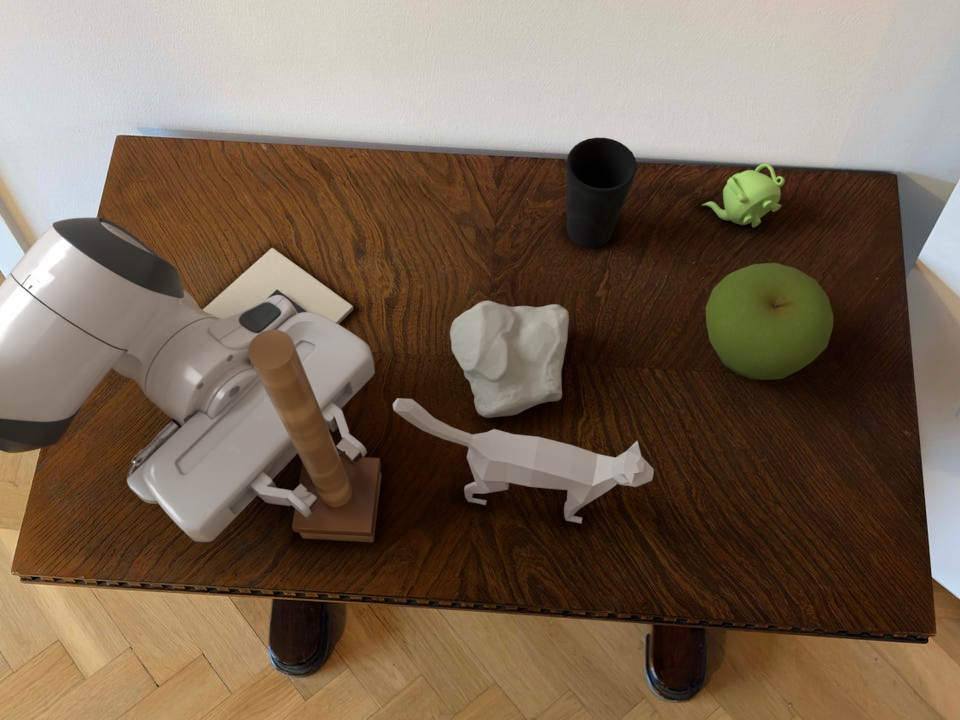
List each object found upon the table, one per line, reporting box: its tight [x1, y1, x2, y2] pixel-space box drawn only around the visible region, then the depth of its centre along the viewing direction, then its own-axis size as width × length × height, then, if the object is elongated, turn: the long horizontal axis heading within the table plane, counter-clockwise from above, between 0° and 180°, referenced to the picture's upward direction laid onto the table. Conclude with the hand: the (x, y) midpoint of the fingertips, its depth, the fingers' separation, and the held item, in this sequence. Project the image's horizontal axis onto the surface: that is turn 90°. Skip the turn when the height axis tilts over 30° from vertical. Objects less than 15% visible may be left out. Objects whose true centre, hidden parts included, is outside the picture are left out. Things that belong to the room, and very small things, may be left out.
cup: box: [566, 136, 638, 249], centre depth 82 cm, size 6×6×10 cm
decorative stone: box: [449, 300, 570, 419], centre depth 76 cm, size 11×9×10 cm
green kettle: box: [701, 163, 786, 228], centre depth 84 cm, size 6×5×6 cm
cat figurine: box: [392, 397, 655, 524], centre depth 67 cm, size 4×20×14 cm, turn 78°
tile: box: [202, 247, 354, 325], centre depth 81 cm, size 11×11×1 cm
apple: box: [705, 262, 834, 381], centre depth 75 cm, size 11×10×10 cm
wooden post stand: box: [248, 330, 382, 543], centre depth 60 cm, size 6×6×28 cm
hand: (336, 482), depth 65 cm, fingers open, 4 cm apart
